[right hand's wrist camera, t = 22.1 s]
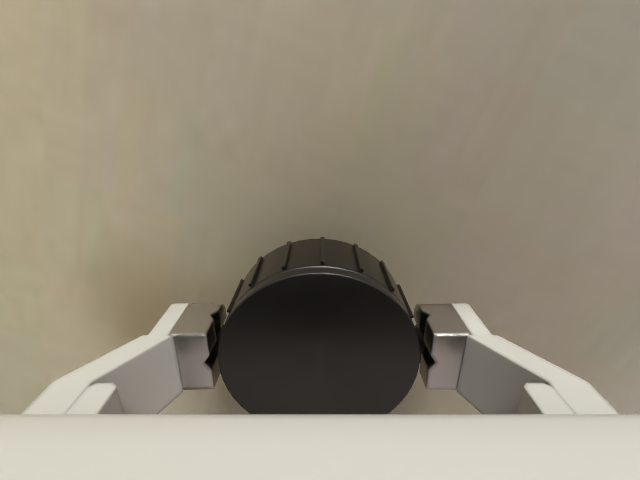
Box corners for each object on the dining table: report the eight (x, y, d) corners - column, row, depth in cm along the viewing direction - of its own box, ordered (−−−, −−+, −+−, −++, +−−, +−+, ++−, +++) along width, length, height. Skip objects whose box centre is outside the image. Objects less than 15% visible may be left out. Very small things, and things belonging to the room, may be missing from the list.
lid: (300, 402, 12) (296, 463, 10) (199, 295, 11) (170, 342, 9) (432, 331, 11) (458, 383, 9) (342, 200, 10) (348, 227, 7)
